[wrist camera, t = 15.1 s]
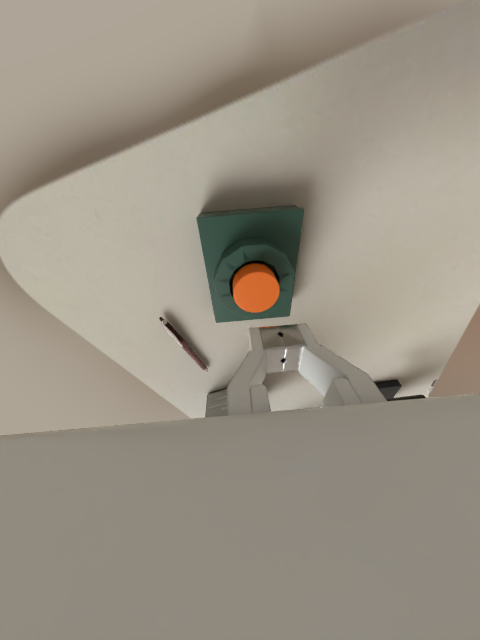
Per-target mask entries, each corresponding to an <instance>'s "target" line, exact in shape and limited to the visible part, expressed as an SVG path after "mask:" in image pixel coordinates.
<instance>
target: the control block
mask: <svg viewBox="0 0 480 640" xmlns="http://www.w3.org/2000/svg"><path fill="white" fill-rule="evenodd" d="M303 213H304V209H303V208H300V207H297V206H295V205H294V206H282V207H270V208H257V209H245V210H232V211H220V212H208V213H200V214H199V215H198V217H197V223H198V228H199V234H200V239H201V245H202V250H203V256H204V261H205V266H206V272H207V277H208V283H209V288H210V293H211V299H212V304H213V310H214V315H215V320H216V323H219V322H230V321H242V320H253V319H264V318H275V317H287V316H290V310H291V302H292V295H293V287H294V280H295V273H296V265H297V258H298V250H299V243H300V235H301V228H302V221H303ZM251 263H260V264H263V265H266V266H267V267H269V268H270V269H271V270H272V272H273V273H274V275H275V277H276V279H277V281H278V283H279V287H280V293H279V297H278V299H277V301H276V302H275V303H274V305H273V306H271V307H270V308H269V309H267V310H265V311H262V312H255V313H254V312H248V311H245V310H243V309H241V308H240V307H239V306H238V305H237V304H236V302H235V300H234V296H233V279H234V276H235V274H236V273H237V272H238V270H239V269H241V268H242V267H243V266H245V265H248V264H251Z"/></svg>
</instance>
